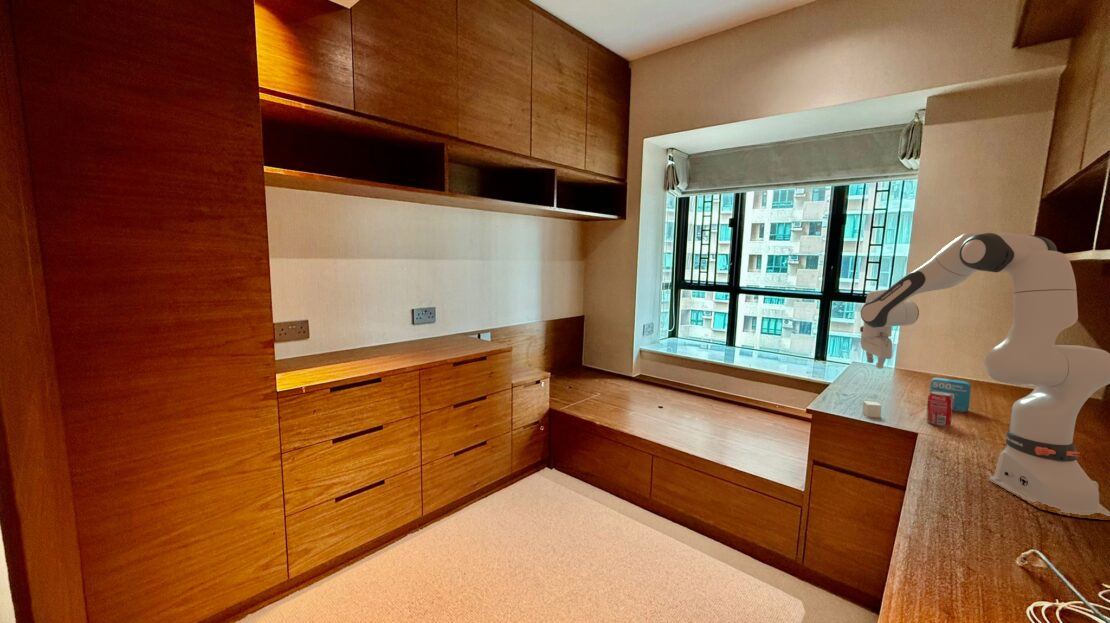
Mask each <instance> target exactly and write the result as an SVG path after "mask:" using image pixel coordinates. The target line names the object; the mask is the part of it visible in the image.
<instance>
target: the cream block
mask: <svg viewBox="0 0 1110 623" xmlns="http://www.w3.org/2000/svg"><path fill="white" fill-rule="evenodd" d="M862 414H863V415H864V416H865V417H868V418H881V415H882V404H880V403H879V402H878V401H868V400H863V402H862Z"/></svg>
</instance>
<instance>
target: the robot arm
mask: <svg viewBox="0 0 1110 623" xmlns="http://www.w3.org/2000/svg"><path fill="white" fill-rule="evenodd" d="M1057 248H1058V247H1057V246H1056V244H1055V243H1054V242H1053V241H1052V240H1050V239H1048V238H1047V237H1044V236H1039V235H1033V234H1030V235H1028V234H1020V233H1014V232H1013V233H1012V232H997V233H993V232H986V233H985V232H984V233H980V232H974V231H970V232H965V233H963V234H961V235H959V236H958V237H956V238H955V239H954V240H952V241H950V242H949V243H948V244H946V245H945V246H944V247H942V248H941V250H939V251H938V252H937V253H936V254H935V255H934V256H932V258H930V259H929V260H927V262H925V263H924V264H923V265H921V266H920V267H918V268H916V269H915V270H913V271H911V272H910V273H908V274H906V275H904V276H903V277H902V278H901V279H899V280H898V281H896V282H895V283H894V284H892V285H891V286H890V287H889V288H887V289H875V290H871V291H869V292H868V293H867V296H866V299H865V303H864V304H863V305H862V307H861V310H860V318H861V320H862V321H863V325H861V326H860V327H859V329H860V330H859V332H860V333H861V334H860V346H861V349H862V350H864V351H865V355H866V362H867V363H869V364H874V360H875V359H874V356H875V357H876V358H877V362H876V368H877V369H881V370H883V369H884V364H885V362H886V360H891V358H892V356H893V342H892V339H891V338H889V337H892V331H893V329H892V328H893V327H902V326H903V327H905V326H911V325H913V324H915V323H916V322H917V320H918V318H919V315H920V309H919V308H918V306H917V304H916V303H915V302H914V301H912V300H908V299H910V298H911V297H914V296H915V295H919V294H923V293H927V292H933V291H938V290H939V291H940V290H944V289H950V288H953V287H955V286H957V285H960V284H962V283H963V282H965V281H966V280H967V279H969V278H970V277H971V276H972V275H974V273H976V272H977V271H981V272H990V273H1006V274H1008V276H1010V278H1011V281H1012V296H1013V297H1012V299H1013V301H1012V303H1013V315H1012V316H1013V317H1012V322H1011V326H1010V329H1009V331H1008V333H1007V334H1006V336H1005V337H1004V338H1003V340H1002V341H1000V342H999V343H998V344H997V345H996V346H994V347H992V348H991V349H989V350H988V352H987V353H986V354H985V356H984V360H983V366H984V369H985V371H986V373H987V374H988V376H990V378H992V379H993V380H995V381H996V382H999V383H1005V384H1009V385H1015V386H1018V387H1019V386H1020V387H1021V386H1023V387H1034V389H1033V390H1032V391H1031V392H1030V393H1029V394H1027V395H1026V396H1024V397H1021V398H1019V399H1017V400H1016V401H1015V402H1014V403H1013V405H1011V406H1012V407H1011V413H1010V423H1009V429H1007V431H1006V434H1005V444H1006V446H1005V447H1004V449H1003V450H1002V451H1001V452H1000V453H999V455H998V459H997V464H996V468H995V471H994V475H990V476H989V477H988V481H989V480H990V481H992V482H994V483H996V484H998V485H999V486H1001V487H1004V488H1005V489H1007V490H1009V491H1011V492H1013V493H1016V494H1017V495H1020V496H1021V497H1023V498H1025V499H1027V500H1029V501H1032V502H1036V501H1039V502H1041V503H1042V504H1046V505H1048V506H1050V507H1055V508H1058V509H1060V510H1061V511H1060V512H1065V513H1072V514H1079V515H1091V514H1094V513H1101V514H1104V515H1106V516H1110V511H1109V510H1108V508H1106V507H1104V506H1103V505H1102V504H1101V503H1100V492H1099V489H1100V488H1099V487H1100V486H1099V483H1098V482H1097V481H1095V480H1092V479H1091V478H1090V477H1089V476H1088V475H1087V473H1086V472H1085V470H1084V469H1083V468H1082V467H1081V465H1080V463H1079V462H1078V458H1079V457H1080V455H1079V454H1081V452H1080V451H1077V448H1076V445H1075V443H1074V442H1073V440H1074V433H1075V427H1076V421H1077V417H1078V414H1079V412H1080V411H1081V409H1082V407H1083V406H1084V405H1085V403H1086V401H1087V400H1088V399H1090V397H1091V396H1092V395H1093V394H1094V393H1095V392H1097V391H1098V390H1100V389H1102V388H1103V387H1106V386H1108V385H1109V384H1110V353H1109V351H1107V350H1104V349H1101V348H1095V347H1090V346H1085V345H1078V344H1077V345H1076V344H1075V345H1072V344H1071V345H1070V344H1068V345H1067V344H1055V343H1056V341H1057V337H1058V336H1059V334H1060V333H1061V332H1062V331H1063V330H1065V329H1067V328H1070V327H1072V326H1073V325H1074V324H1076V323H1077V321H1078V319H1079V313H1078V312H1079V311H1078V310H1079V309H1078V296H1077V295H1078V293H1077V284H1076V283H1077V282H1076V277H1075V274H1074V270H1073V267H1072V266H1073V265H1072V264H1071V263H1072V262H1071V261H1070V259H1069V257H1068V256H1067V255H1066V254H1065V253H1063V252H1060V251H1058V249H1057ZM990 481H989V482H990ZM992 482H991V483H992ZM999 486H998V487H999ZM1035 504H1036V503H1035ZM1053 510H1054V509H1053Z"/></svg>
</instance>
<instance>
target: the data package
mask: <svg viewBox="0 0 1110 623" xmlns="http://www.w3.org/2000/svg"><path fill="white" fill-rule="evenodd" d="M929 386H930V387H929V394H930V393H931V391H942V392H947V393H950V394H951V397H952V398H953V411H955V412H957V413H958V412H960V413H967V412H968V411H969V409H970V402H971V401H970V399H971V389H972V384H971V383H970V382H968V381H965V380H958V379H957V380H956V379H950V378H943V377H942V378H941V377H933V378H932V379H931V381H930V384H929ZM953 411H952V412H953Z"/></svg>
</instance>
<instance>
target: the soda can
mask: <svg viewBox="0 0 1110 623" xmlns="http://www.w3.org/2000/svg"><path fill="white" fill-rule="evenodd" d="M952 410H953V398H952V397H951V394H950V393H947V392H942V391H931V393H930V392H929V394H928V397H927V402H926V416H925V418H926V421H927V422H928V423H929V424H931V425H933V426H938V427H947V426H950V425H951V423H952V418H953V411H952Z"/></svg>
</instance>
